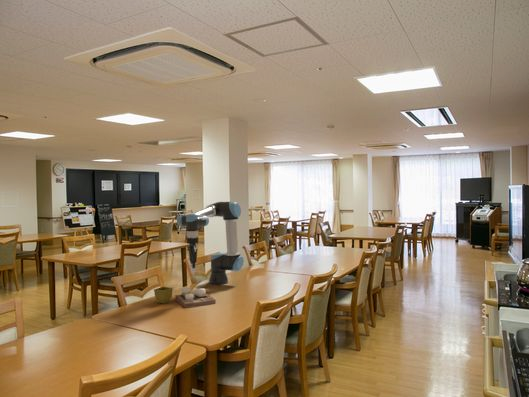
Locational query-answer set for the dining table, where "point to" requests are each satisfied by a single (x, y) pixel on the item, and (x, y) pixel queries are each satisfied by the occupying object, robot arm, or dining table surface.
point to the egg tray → (195, 300)
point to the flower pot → (163, 294)
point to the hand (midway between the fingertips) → (193, 272)
